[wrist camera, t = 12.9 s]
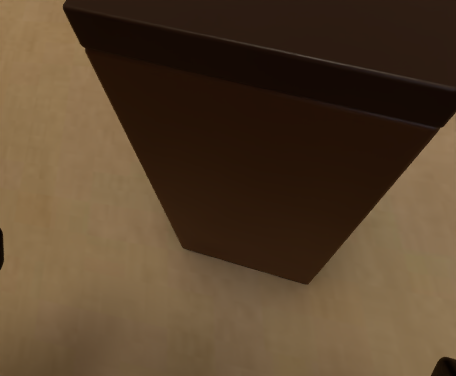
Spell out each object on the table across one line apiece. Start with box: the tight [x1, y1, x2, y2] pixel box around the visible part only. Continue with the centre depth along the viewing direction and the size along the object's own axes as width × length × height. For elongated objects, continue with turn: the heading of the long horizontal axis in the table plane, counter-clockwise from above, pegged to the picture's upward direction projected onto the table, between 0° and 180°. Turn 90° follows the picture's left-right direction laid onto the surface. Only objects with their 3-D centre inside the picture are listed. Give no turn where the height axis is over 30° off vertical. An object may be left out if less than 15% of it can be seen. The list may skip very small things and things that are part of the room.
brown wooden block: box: [63, 0, 456, 284], centre depth 12 cm, size 6×6×12 cm
